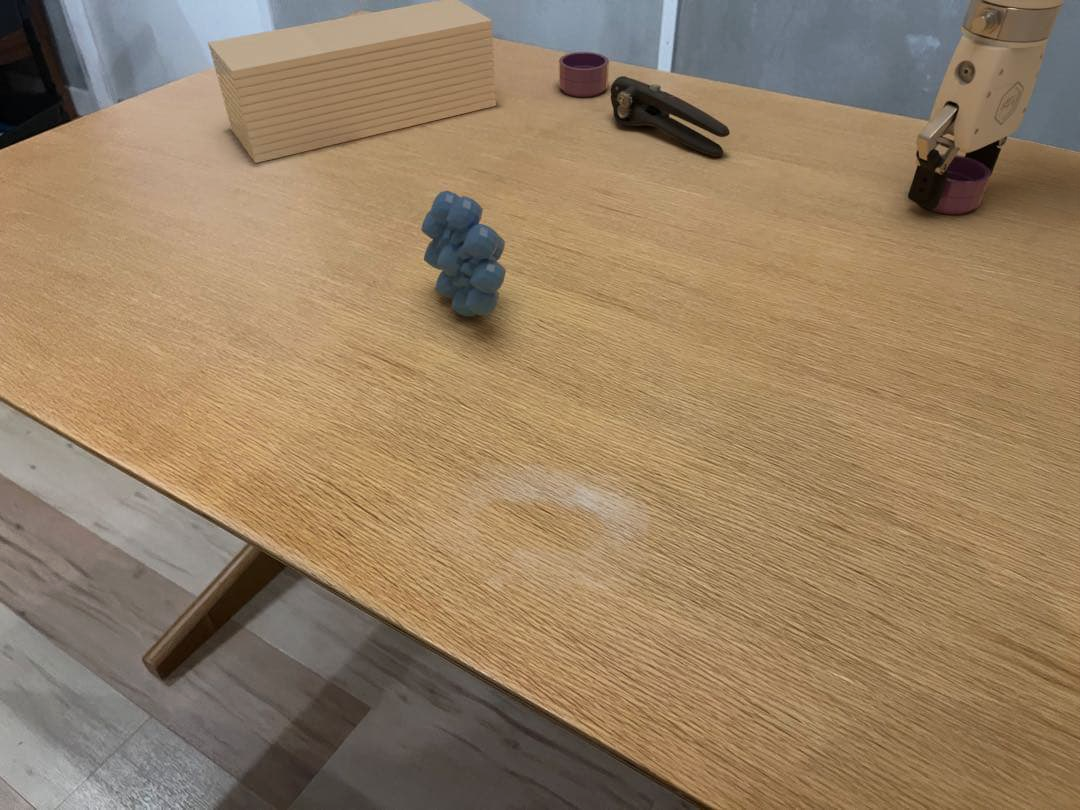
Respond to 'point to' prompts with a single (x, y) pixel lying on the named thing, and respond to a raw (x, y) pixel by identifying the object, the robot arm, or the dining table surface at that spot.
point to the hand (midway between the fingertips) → (948, 190)
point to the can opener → (664, 114)
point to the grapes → (464, 254)
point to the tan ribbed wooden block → (354, 76)
